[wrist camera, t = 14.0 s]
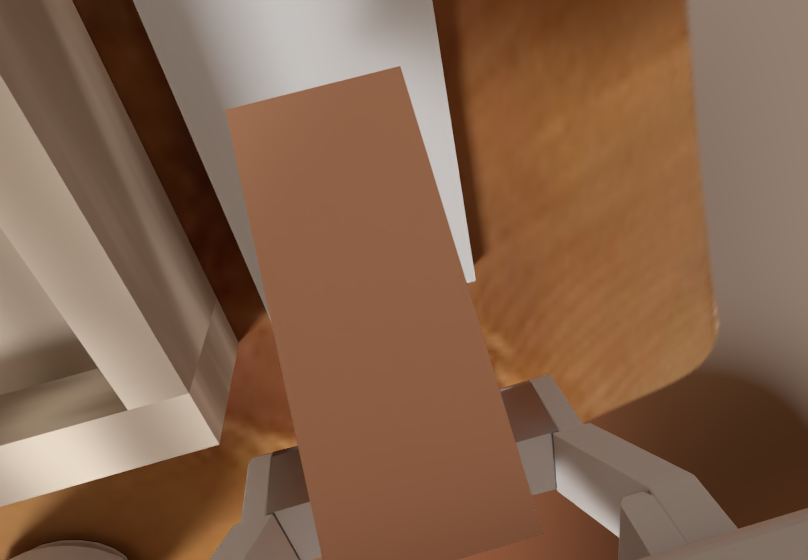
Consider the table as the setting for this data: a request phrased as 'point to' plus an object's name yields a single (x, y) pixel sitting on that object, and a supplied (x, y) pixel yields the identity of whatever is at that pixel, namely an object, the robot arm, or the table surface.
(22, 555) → the can
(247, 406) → the table surface
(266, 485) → the robot arm
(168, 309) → the pocket block
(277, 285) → the bar
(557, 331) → the table surface
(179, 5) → the mat
